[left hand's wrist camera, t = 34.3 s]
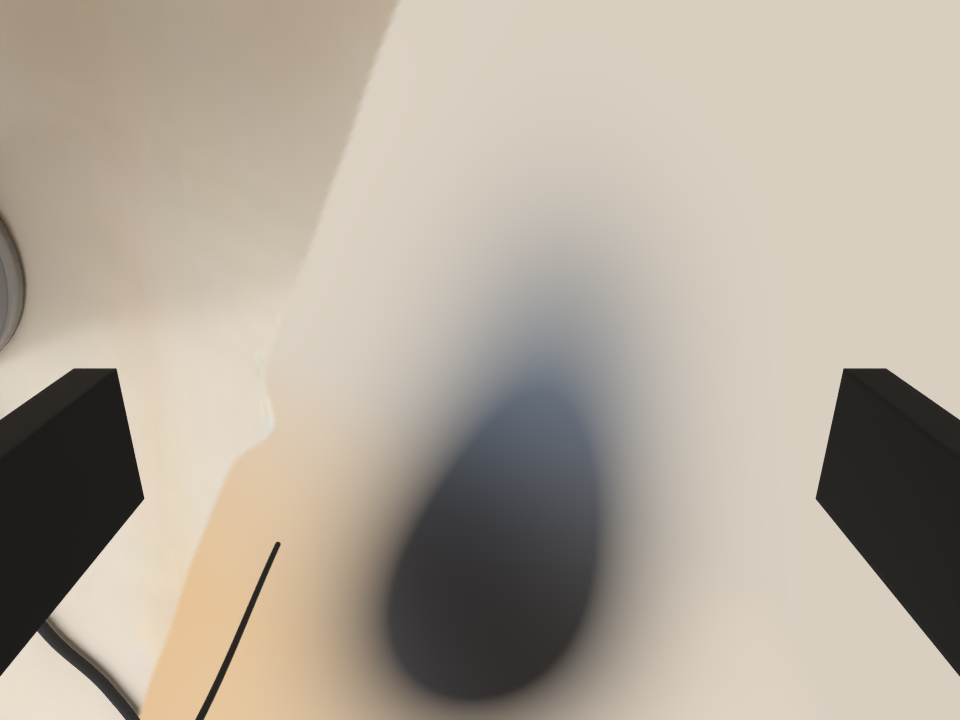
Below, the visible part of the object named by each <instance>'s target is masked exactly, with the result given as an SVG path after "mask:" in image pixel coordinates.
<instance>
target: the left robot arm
mask: <svg viewBox="0 0 960 720" xmlns="http://www.w3.org/2000/svg"><path fill="white" fill-rule="evenodd" d="M23 300H24V285H23V275H22V270H21V265H20V261H19V258H18V254H17V251H16V249H15V246H14V244H13V241H12V239H11V237H10V235H9V233H8V231H7V229H6V227H5V226H4V224H3V222H2V221H1V219H0V350H1V349H2V348H3V347H4V346H5V345H6V344H7V342H8V341H9V340H10V338H11V337H12V335H13V333H14V331H15V330H16V327H17V325H18V322H19V320H20V316H21V312H22V307H23ZM143 500H144V495H143V490H142V486H141V481H140V476H139V472H138V467H137V462H136V458H135V453H134V448H133V444H132V439H131V434H130V430H129V425H128V420H127V416H126V411H125V406H124V402H123V397H122V393H121V388H120V383H119V379H118V374H117V369H73V370H71V371H70V372H68V373H67V374H65V375H64V376H63V377H61V378H60V379H58V380H57V381H55V382H54V383H52V384H51V385H50V386H48V387H47V388H45V389H44V390H42V391H41V392H40V393H38V394H37V395H35V396H34V397H32V398H31V399H30V400H28V401H27V402H25V403H24V404H22V405H21V406H20V407H18V408H17V409H15V410H14V411H12V412H11V413H10V414H8V415H7V416H5V417H4V418H2V419H1V420H0V676H1V675H2V674H3V672H4V671H5V670H6V669H7V667H8V666H9V665H10V664H11V662H12V661H13V660H14V659H15V657H16V656H17V655H18V654H19V653H20V651H21V650H22V649H23V648H24V646H25V645H26V644H27V643H28V641H29V640H30V639H31V638H32V637H33V635H34V634H35V633H36V632H37V631H38V632H39V634H40V635H41V636H42V637H43V638H44V639H45V640H46V641H47V642H48V643H49V645H50V646H51V647H53V648H54V649H55V650H56V651H57V652H58V653H59V654H60V655H61V656H62V657H64V658H65V659H66V660H67V661H68V662H70V663H71V664H72V665H73V666H75V667H76V668H77V669H78V670H79V671H81V672H82V673H83V674H84V675H85V676H87V677H88V678H89V679H90V680H91V681H92V682H93V683H94V684H95V685H96V686H97V687H98V688H99V689H100V690H101V691H102V692H103V693H104V694H105V696H106V697H107V698H108V699H109V700H110V701H111V703H112V704H113V705H114V706H115V707H116V708H117V710H118V711H119V712H120V713H121V714H122V716H123V717H124V718H125V719H126V720H140V719H139V718H138V716H137V715H136V713H135V712H134V710H133V709H132V708H131V707H130V705H129V704H128V703H127V702H126V701H125V699H124V698H123V697H122V696H121V695H120V693H119V692H118V691H117V690H116V689H115V688H114V686H113V685H112V684H111V683H110V682H109V681H108V680H107V679H106V678H105V677H104V676H103V675H102V674H101V673H100V672H99V671H98V670H97V669H96V668H95V667H94V666H93V665H91V664H90V663H89V662H88V661H87V660H85V659H84V658H83V657H82V656H81V655H79V654H78V653H77V652H76V651H75V650H73V649H72V648H71V647H70V646H69V645H68V644H67V643H65V642H64V641H63V640H62V639H61V638H60V637H59V636H58V635H57V634H56V633H55V631H54V630H53V629H52V628H51V627H50V626H49V625H48V623H47V622H46V619H47V618H48V617H49V616H50V614H51V613H52V612H53V611H54V609H55V608H56V607H57V606H58V604H59V603H60V602H61V601H62V600H63V598H64V597H65V596H66V595H67V593H68V592H69V591H70V590H71V588H72V587H73V586H74V585H75V584H76V582H77V581H78V580H79V579H80V577H81V576H82V575H83V574H84V572H85V571H86V570H87V569H88V568H89V566H90V565H91V564H92V563H93V561H94V560H95V559H96V558H97V556H98V555H99V554H100V553H101V551H102V550H103V549H104V548H105V547H106V545H107V544H108V543H109V542H110V540H111V539H112V538H113V537H114V535H115V534H116V533H117V532H118V531H119V529H120V528H121V527H122V526H123V524H124V523H125V522H126V521H127V519H128V518H129V517H130V516H131V515H132V513H133V512H134V511H135V510H136V508H137V507H138V506H139V505H140V503H141V502H142V501H143ZM816 500H817V501H818V502H819V503H820V505H821V506H822V507H823V508H824V510H825V511H826V512H827V513H828V514H829V516H830V517H831V518H832V519H833V521H834V522H835V523H836V524H837V526H838V527H839V528H840V529H841V531H842V532H843V533H844V534H845V535H846V537H847V538H848V539H849V540H850V542H851V543H852V544H853V545H854V546H855V548H856V549H857V550H858V551H859V553H860V554H861V555H862V556H863V558H864V559H865V560H866V561H867V563H868V564H869V565H870V566H871V568H872V569H873V570H874V571H875V572H876V574H877V575H878V576H879V577H880V579H881V580H882V581H883V582H884V583H885V585H886V586H887V587H888V588H889V590H890V591H891V592H892V593H893V595H894V596H895V597H896V598H897V600H898V601H899V602H900V603H901V604H902V606H903V607H904V608H905V609H906V611H907V612H908V613H909V614H910V616H911V617H912V618H913V619H914V621H915V622H916V623H917V624H918V625H919V627H920V628H921V629H922V630H923V632H924V633H925V634H926V635H927V637H928V638H929V639H930V640H931V641H932V643H933V644H934V645H935V646H936V648H937V649H938V650H939V651H940V653H941V654H942V655H943V656H944V657H945V659H946V660H947V661H948V662H949V664H950V665H951V666H952V667H953V669H954V670H955V671H956V672H957V674H958V675H959V676H960V420H959V419H958V418H956V417H955V416H953V415H952V414H950V413H949V412H948V411H946V410H945V409H943V408H942V407H940V406H939V405H938V404H936V403H935V402H933V401H932V400H930V399H929V398H928V397H926V396H925V395H923V394H922V393H920V392H919V391H918V390H916V389H915V388H913V387H912V386H910V385H909V384H907V383H906V382H905V381H903V380H902V379H900V378H899V377H897V376H896V375H895V374H893V373H892V372H890V371H889V370H887V369H843V374H842V379H841V383H840V388H839V393H838V397H837V402H836V407H835V411H834V416H833V421H832V425H831V430H830V435H829V439H828V444H827V449H826V453H825V458H824V462H823V467H822V472H821V476H820V481H819V486H818V490H817V495H816ZM280 545H281V543H280V542H276V543H275V545H274V547H273V549H272V552H271V554H270V556H269V558H268V560H267V562H266V565H265V567H264V569H263V571H262V574H261V576H260V578H259V581H258V583H257V585H256V587H255V590H254V592H253V594H252V597H251V599H250V601H249V604H248V606H247V608H246V611H245V613H244V615H243V618H242V620H241V622H240V625H239V627H238V630H237V632H236V634H235V636H234V639H233V641H232V643H231V646H230V648H229V650H228V652H227V655H226V657H225V659H224V661H223V663H222V666H221V668H220V670H219V672H218V674H217V677H216V679H215V681H214V683H213V685H212V687H211V689H210V691H209V693H208V695H207V697H206V699H205V701H204V703H203V705H202V707H201V709H200V711H199V713H198V715H197V717H196V719H195V720H204V718H205V716H206V714H207V712H208V710H209V708H210V706H211V704H212V702H213V700H214V698H215V696H216V694H217V691H218V689H219V687H220V685H221V683H222V681H223V679H224V676H225V674H226V672H227V670H228V667H229V665H230V663H231V661H232V658H233V656H234V653H235V651H236V649H237V647H238V644H239V642H240V639H241V637H242V635H243V632H244V630H245V627H246V625H247V623H248V620H249V618H250V615H251V613H252V611H253V608H254V606H255V603H256V601H257V599H258V596H259V594H260V591H261V589H262V587H263V584H264V582H265V580H266V577H267V575H268V573H269V570H270V568H271V566H272V563H273V561H274V559H275V556H276V554H277V552H278V550H279V548H280Z"/></svg>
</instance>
